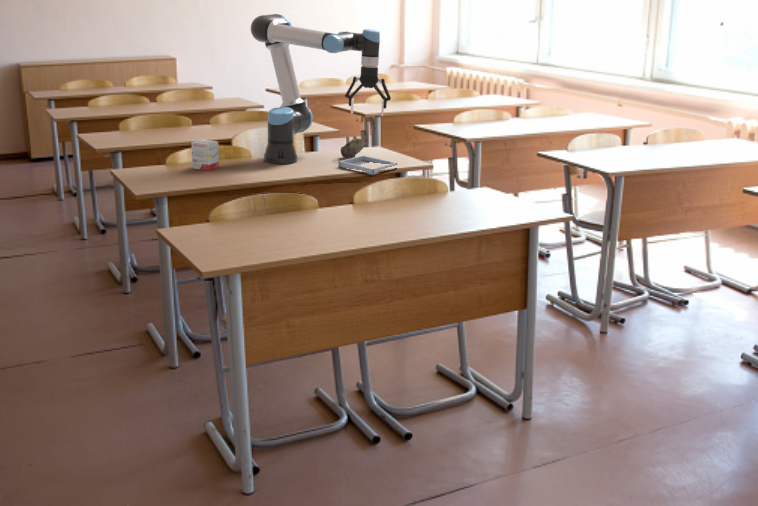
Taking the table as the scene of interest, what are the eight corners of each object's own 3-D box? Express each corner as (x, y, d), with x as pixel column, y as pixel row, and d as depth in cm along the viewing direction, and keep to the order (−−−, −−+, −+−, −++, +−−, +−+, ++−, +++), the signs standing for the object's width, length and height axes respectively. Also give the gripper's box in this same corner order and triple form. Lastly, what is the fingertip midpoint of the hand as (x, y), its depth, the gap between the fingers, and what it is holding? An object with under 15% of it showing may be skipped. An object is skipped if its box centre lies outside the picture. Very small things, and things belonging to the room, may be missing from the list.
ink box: (219, 167, 366) (219, 140, 362) (207, 171, 359) (207, 144, 355) (203, 164, 369) (202, 138, 365) (191, 168, 362) (190, 141, 358)
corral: (338, 167, 375) (338, 161, 375) (363, 161, 389) (363, 155, 388) (372, 175, 364) (372, 169, 363) (396, 168, 377) (397, 162, 377)
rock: (361, 156, 398) (362, 135, 395) (364, 160, 389) (365, 139, 386) (339, 155, 397) (340, 135, 393) (341, 160, 388) (341, 139, 384)
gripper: (340, 65, 362) (338, 114, 369) (397, 69, 360) (394, 118, 368) (342, 63, 369) (340, 111, 376) (398, 67, 368) (395, 115, 375)
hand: (367, 114), depth 372 cm, fingers open, 13 cm apart
